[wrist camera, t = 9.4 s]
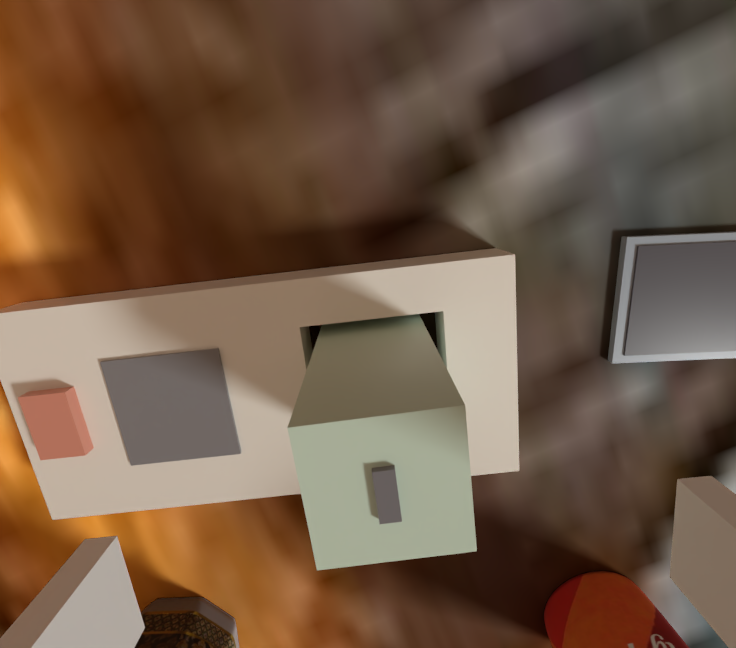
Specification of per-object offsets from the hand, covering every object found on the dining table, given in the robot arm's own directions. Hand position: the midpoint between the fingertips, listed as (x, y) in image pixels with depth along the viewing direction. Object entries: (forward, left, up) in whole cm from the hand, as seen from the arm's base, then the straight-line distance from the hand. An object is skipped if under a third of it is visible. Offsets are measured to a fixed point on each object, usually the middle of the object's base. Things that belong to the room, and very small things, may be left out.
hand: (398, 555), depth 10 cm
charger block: (+1, 0, -11) cm, 11 cm away
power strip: (0, +5, -11) cm, 13 cm away
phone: (+2, -17, -12) cm, 21 cm away
